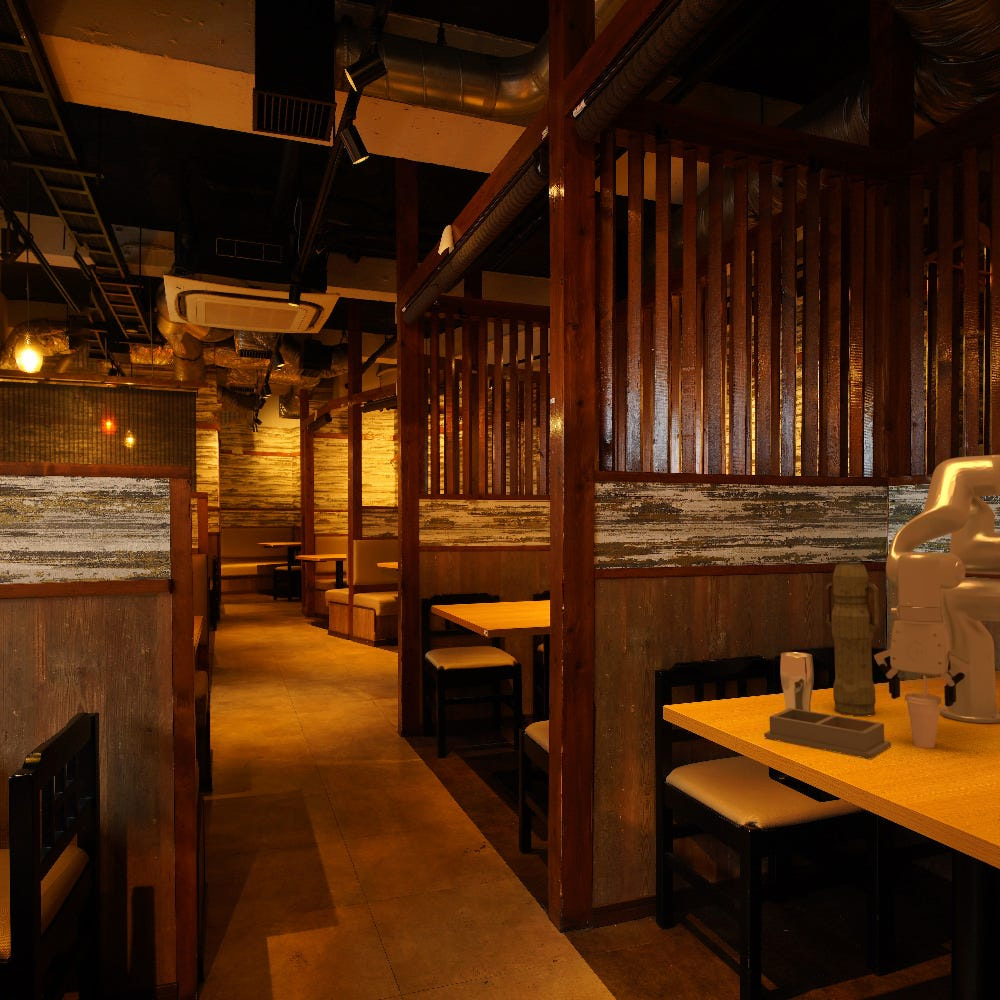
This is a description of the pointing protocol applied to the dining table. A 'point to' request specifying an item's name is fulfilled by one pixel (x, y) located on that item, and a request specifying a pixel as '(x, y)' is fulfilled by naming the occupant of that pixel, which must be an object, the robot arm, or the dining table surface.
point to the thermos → (852, 638)
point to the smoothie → (923, 716)
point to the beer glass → (797, 679)
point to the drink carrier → (828, 732)
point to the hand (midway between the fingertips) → (921, 701)
